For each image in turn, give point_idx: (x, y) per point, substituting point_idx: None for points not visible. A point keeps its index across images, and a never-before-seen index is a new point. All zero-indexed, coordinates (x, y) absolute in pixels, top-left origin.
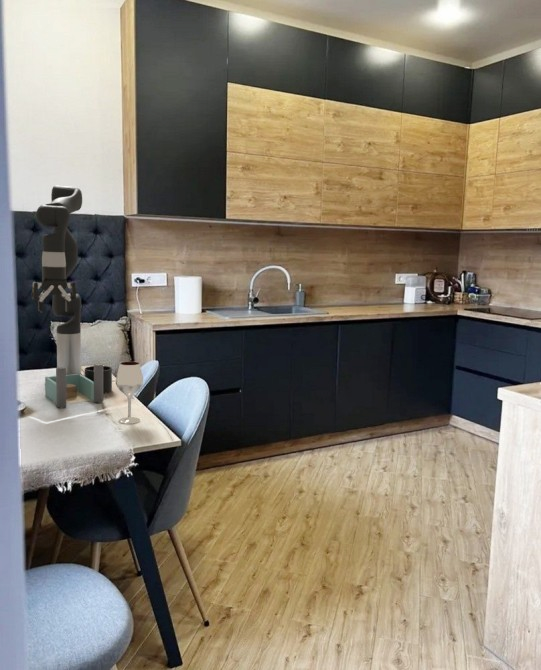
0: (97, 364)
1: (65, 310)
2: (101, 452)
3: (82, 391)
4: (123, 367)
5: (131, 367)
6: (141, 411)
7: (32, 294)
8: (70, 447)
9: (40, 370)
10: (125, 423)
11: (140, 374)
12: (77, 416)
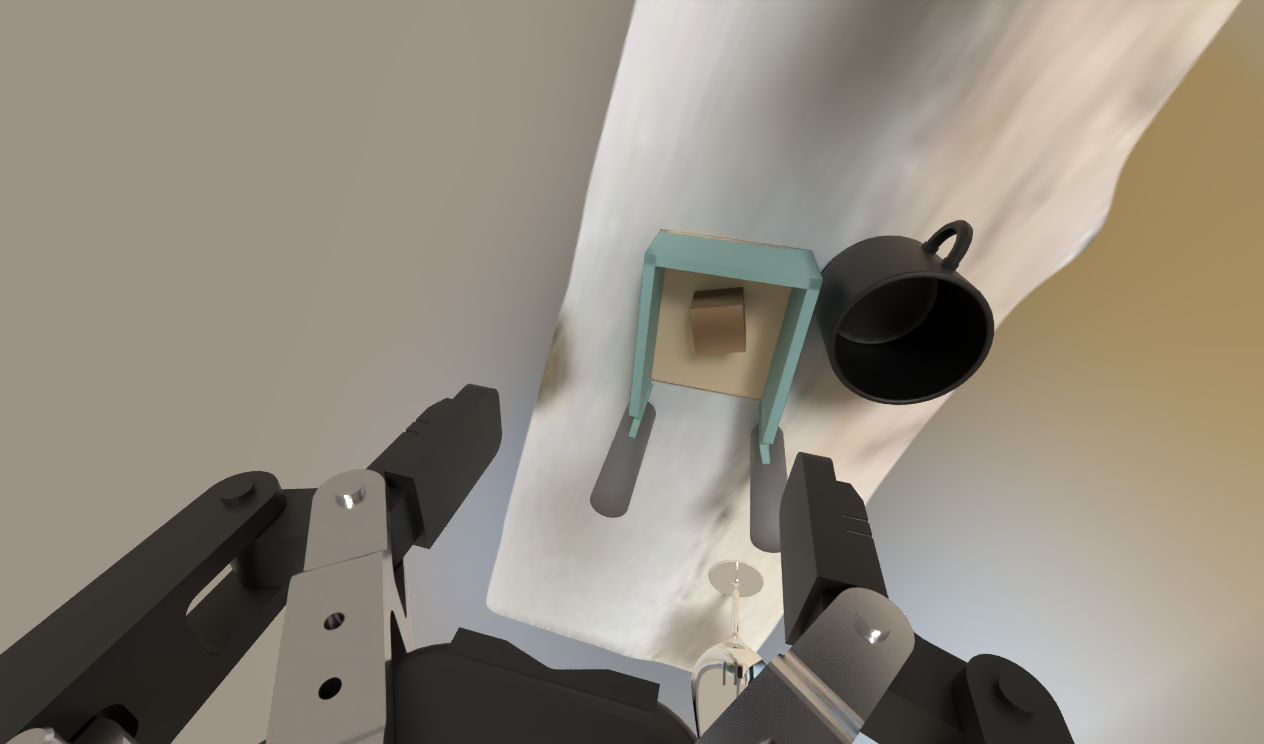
0: (772, 531)
1: (798, 462)
2: (595, 642)
3: (786, 316)
4: None
5: None
6: None
7: (164, 555)
8: (560, 602)
9: None
10: (714, 586)
11: None
12: (650, 484)
